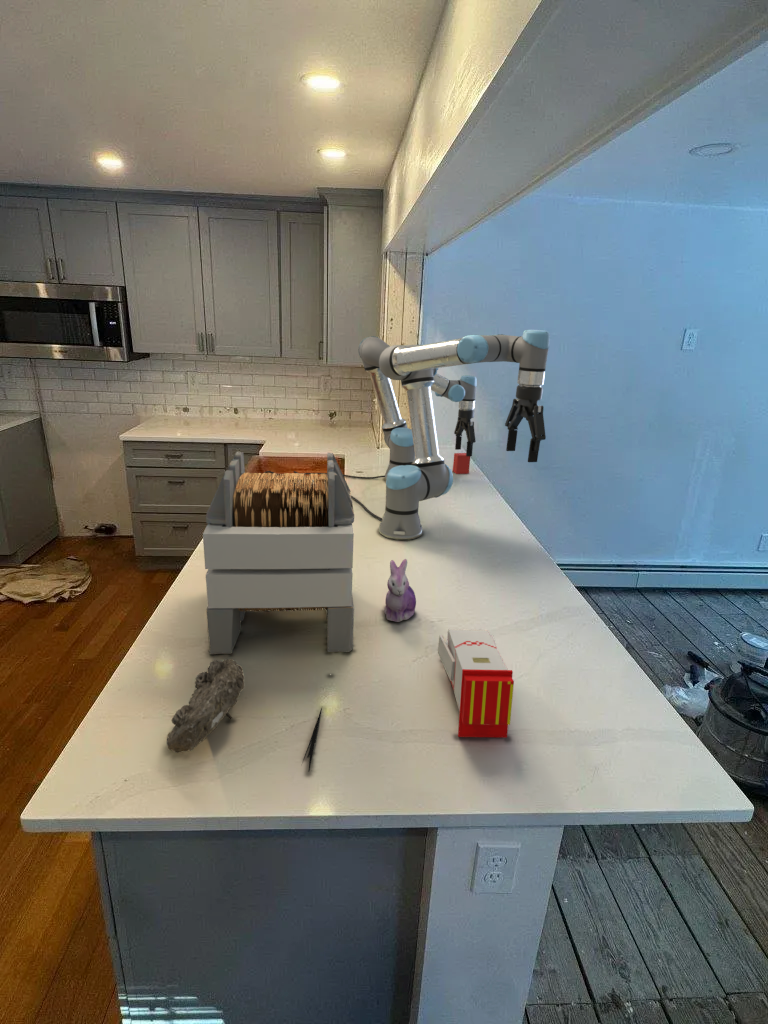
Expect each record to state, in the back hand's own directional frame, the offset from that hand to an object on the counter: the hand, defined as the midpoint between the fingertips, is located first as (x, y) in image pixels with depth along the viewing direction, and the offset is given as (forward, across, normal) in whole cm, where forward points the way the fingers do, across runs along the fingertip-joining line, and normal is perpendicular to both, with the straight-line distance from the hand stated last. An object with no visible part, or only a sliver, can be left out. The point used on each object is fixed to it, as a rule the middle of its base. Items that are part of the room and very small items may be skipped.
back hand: (463, 452), depth 276 cm
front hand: (-24, -98, +25) cm, 104 cm away
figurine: (+9, -126, +71) cm, 144 cm away
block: (+10, 0, +1) cm, 10 cm away
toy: (+9, -159, +66) cm, 172 cm away
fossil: (+8, -155, +117) cm, 195 cm away
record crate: (+8, -121, +100) cm, 157 cm away
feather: (+8, -161, +98) cm, 188 cm away
